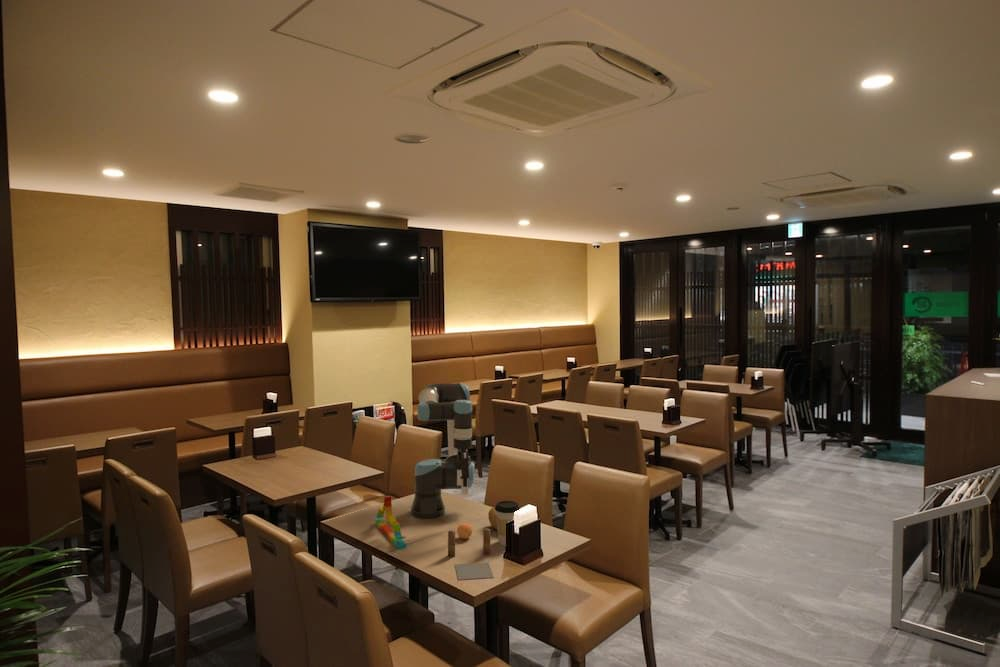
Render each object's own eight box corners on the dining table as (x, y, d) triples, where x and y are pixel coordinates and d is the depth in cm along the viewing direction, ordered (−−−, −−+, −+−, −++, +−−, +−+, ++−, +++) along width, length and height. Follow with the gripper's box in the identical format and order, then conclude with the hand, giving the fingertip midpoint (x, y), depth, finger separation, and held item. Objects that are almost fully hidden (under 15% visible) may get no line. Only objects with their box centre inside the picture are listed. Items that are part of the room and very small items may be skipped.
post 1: (447, 554, 216) (447, 530, 216) (454, 554, 217) (454, 530, 216) (448, 557, 214) (448, 533, 213) (455, 557, 214) (455, 532, 214)
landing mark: (454, 564, 207) (454, 564, 207) (488, 562, 209) (488, 562, 209) (458, 580, 196) (458, 579, 196) (493, 577, 198) (493, 577, 198)
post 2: (482, 552, 218) (483, 528, 218) (489, 552, 219) (489, 528, 219) (483, 555, 216) (484, 531, 216) (490, 554, 216) (490, 530, 216)
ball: (456, 535, 235) (456, 521, 234) (471, 535, 236) (471, 520, 235) (457, 541, 229) (457, 526, 228) (472, 540, 230) (473, 525, 229)
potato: (497, 536, 234) (497, 517, 234) (483, 525, 247) (483, 506, 247) (519, 533, 238) (519, 513, 238) (504, 521, 251) (504, 503, 251)
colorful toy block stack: (406, 548, 222) (407, 509, 222) (398, 550, 221) (399, 510, 220) (382, 523, 249) (382, 488, 248) (375, 524, 247) (375, 489, 247)
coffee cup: (522, 545, 226) (523, 506, 225) (498, 548, 223) (498, 509, 222) (515, 536, 235) (515, 499, 234) (491, 538, 232) (491, 501, 232)
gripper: (450, 432, 252) (449, 482, 252) (457, 444, 228) (457, 498, 228) (467, 432, 254) (467, 481, 254) (476, 443, 229) (476, 497, 229)
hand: (462, 489), depth 241 cm, fingers open, 13 cm apart
